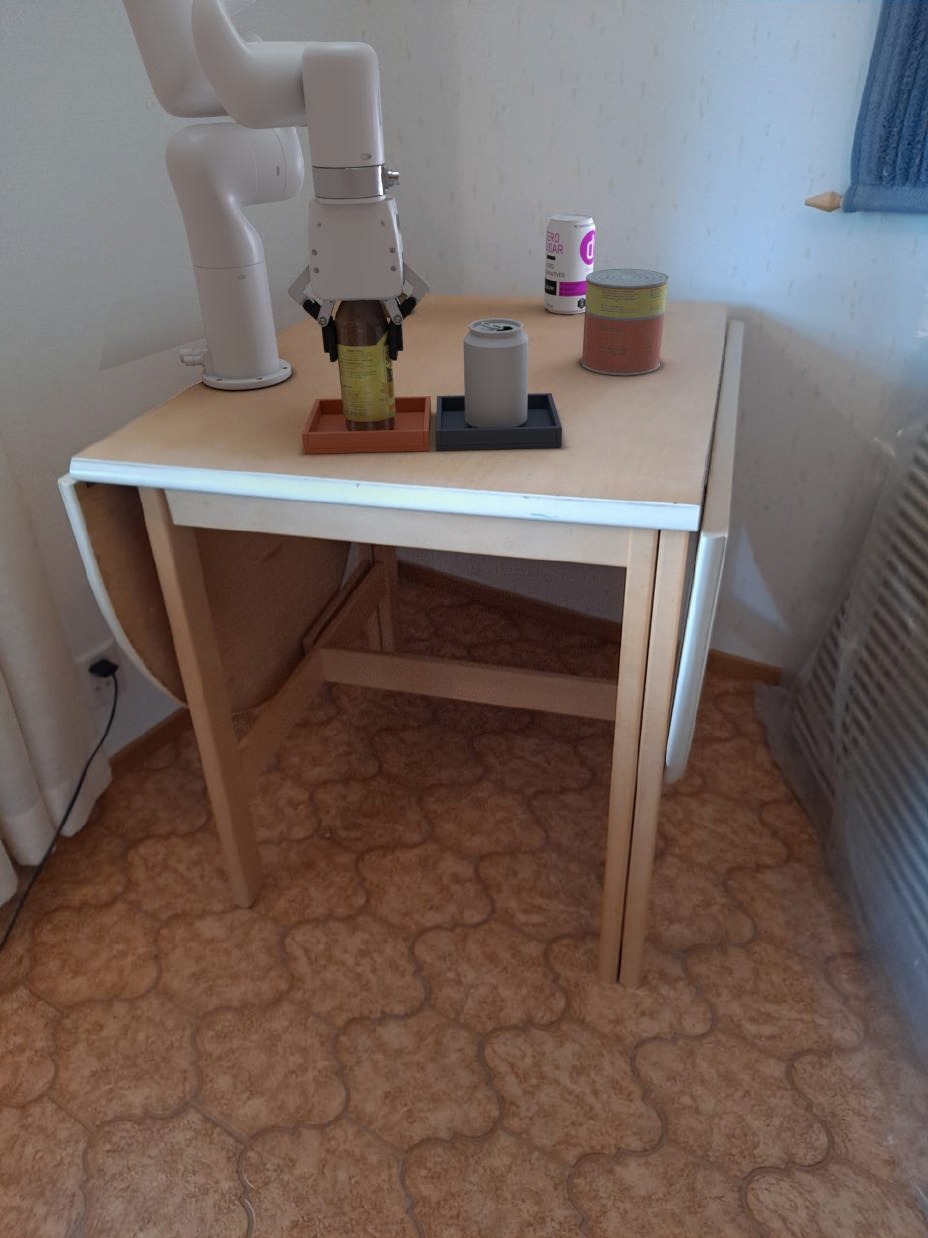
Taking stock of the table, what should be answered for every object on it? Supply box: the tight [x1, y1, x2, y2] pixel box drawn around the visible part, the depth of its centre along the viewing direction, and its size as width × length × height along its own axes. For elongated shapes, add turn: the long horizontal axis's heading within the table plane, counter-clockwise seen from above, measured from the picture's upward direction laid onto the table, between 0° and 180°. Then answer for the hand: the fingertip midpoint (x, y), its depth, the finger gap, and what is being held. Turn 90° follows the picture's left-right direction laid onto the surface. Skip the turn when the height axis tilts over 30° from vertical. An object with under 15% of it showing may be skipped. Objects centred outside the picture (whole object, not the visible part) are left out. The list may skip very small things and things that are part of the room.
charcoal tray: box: [435, 392, 563, 452], centre depth 104 cm, size 14×12×2 cm
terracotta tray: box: [301, 395, 432, 455], centre depth 104 cm, size 14×12×2 cm
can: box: [462, 317, 530, 428], centre depth 101 cm, size 8×8×12 cm
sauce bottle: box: [334, 300, 396, 431], centre depth 99 cm, size 6×6×20 cm
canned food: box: [581, 268, 670, 377], centre depth 122 cm, size 11×11×12 cm
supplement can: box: [543, 213, 596, 315], centre depth 149 cm, size 8×8×15 cm
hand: (364, 356), depth 99 cm, fingers closed on sauce bottle, 6 cm apart
